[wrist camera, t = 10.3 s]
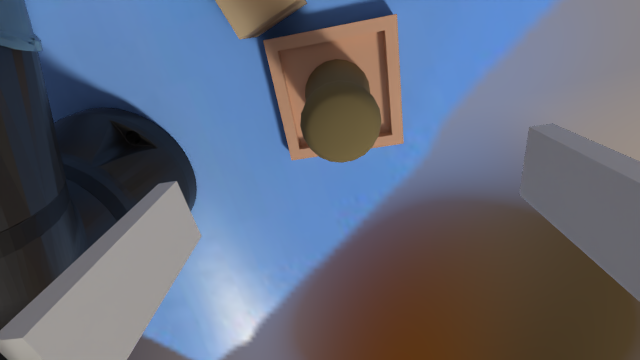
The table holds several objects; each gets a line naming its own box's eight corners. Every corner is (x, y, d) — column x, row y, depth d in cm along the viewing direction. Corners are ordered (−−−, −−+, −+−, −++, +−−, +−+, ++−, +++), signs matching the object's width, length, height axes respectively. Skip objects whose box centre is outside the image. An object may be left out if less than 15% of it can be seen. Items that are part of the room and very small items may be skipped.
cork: (301, 61, 26) (285, 81, 17) (370, 56, 26) (395, 74, 16) (307, 127, 29) (296, 178, 19) (369, 124, 29) (390, 174, 19)
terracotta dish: (293, 154, 31) (291, 160, 30) (266, 39, 26) (263, 40, 25) (400, 138, 30) (403, 143, 28) (393, 14, 25) (396, 13, 24)
